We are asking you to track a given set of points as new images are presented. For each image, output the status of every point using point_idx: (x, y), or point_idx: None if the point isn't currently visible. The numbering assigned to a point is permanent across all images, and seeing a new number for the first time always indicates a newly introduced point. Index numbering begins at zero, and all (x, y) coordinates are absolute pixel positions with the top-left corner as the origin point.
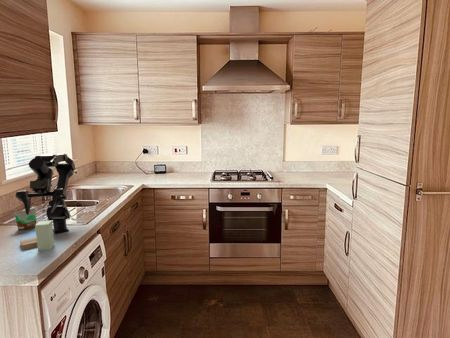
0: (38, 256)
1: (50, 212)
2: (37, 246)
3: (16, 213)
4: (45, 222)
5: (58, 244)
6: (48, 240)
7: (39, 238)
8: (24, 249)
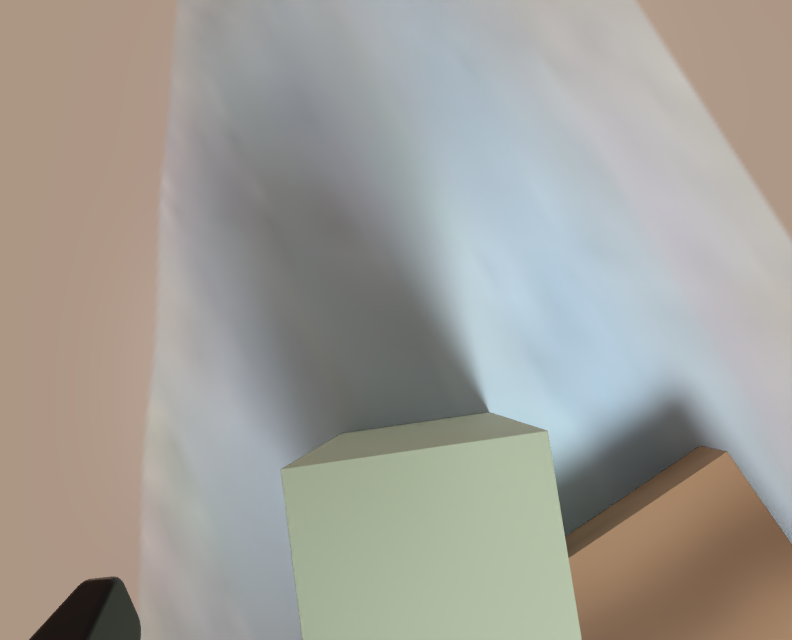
0: (390, 224)
1: (114, 577)
2: None
3: None
4: (404, 615)
5: None
6: (346, 439)
7: (466, 423)
8: (681, 458)
